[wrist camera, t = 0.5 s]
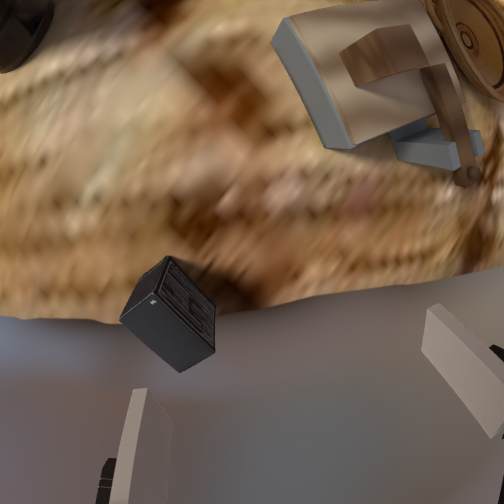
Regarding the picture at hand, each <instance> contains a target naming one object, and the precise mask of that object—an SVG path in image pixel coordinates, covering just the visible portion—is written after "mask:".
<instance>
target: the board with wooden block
mask: <svg viewBox="0 0 504 504" xmlns="http://www.w3.org/2000/svg"><path fill="white" fill-rule="evenodd" d="M289 22H290V23H291V25H292V27H293V28H294V30H295V31H296V33H297V35H298V36H299V38H300V40H301V42H302V43H303V45H304V47H305V48H306V50H307V52H308V54H309V56H310V57H311V59H312V61H313V63H314V65H315V67H316V69H317V70H318V72H319V74H320V76H321V78H322V80H323V82H324V84H325V86H326V88H327V90H328V92H329V94H330V96H331V98H332V100H333V103H334V105H335V107H336V109H337V111H338V113H339V116H340V118H341V120H342V122H343V125H344V127H345V129H346V132H347V134H348V136H349V139H350V141H351V144H359V143H361V142H363V141H366V140H368V139H371V138H373V137H375V136H378V135H380V134H382V133H385V132H387V131H390V130H392V129H395V128H397V127H400V126H402V125H405V124H407V123H410V122H412V121H415V120H417V119H420V118H423V117H425V116H428V115H430V114H433V113H436V111H435V108H434V105H433V102H432V99H431V97H430V94H429V92H428V89H427V86H426V84H425V81H424V79H423V77H422V74H421V72H420V70H419V69H420V68H424V67H428V66H432V65H437V64H442V63H445V64H446V67H447V69H448V72H449V74H450V77H451V79H452V82H453V85H454V87H455V90H456V93H457V96H458V99H459V101H460V104H461V103H463V102H466V101H465V98H464V95H463V92H462V89H461V86H460V84H459V81H458V78H457V76H456V73H455V71H454V68H453V66H452V63H451V61H450V59H449V56H448V54H447V52H446V50H445V48H444V45H443V43H442V41H441V39H440V37H439V35H438V33H437V31H436V29H435V27H434V25H433V24H432V22H431V20H430V18H429V16H428V14H427V13H426V11H425V9H424V8H423V6H422V4H421V3H420V1H419V0H379V1H368V2H360V3H352V4H345V5H339V6H333V7H328V8H323V9H318V10H313V11H309V12H304V13H300V14H296V15H292V16H291V17H290V18H289Z"/></svg>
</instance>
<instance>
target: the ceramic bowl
mask: <svg viewBox="0 0 504 504" xmlns="http://www.w3.org/2000/svg"><path fill="white" fill-rule="evenodd" d="M432 2H433V3H434V4H435V10H436V14H435V11H434V8H433V4H432ZM425 3H426V8H427V11H428V14H429V16H430V18H431V20H432V22H433V23H434V25H435V26H436V27H437V29H438V30H439V31H440V33H441V35H442V38H443V40H444V42H445V45H446V47H447V49H448V51H449V52H450V54H451V56H452V58H453V59H454V61H455V63H456V64H457V66H458V67H459V68H460V70H461V71H462V73H463V74H464V75H465V76H466V77H467V78H468V80H469V81H470V82H471V83H472V84H473V85H474V86H475V87H476V88H477V89H479V90H480V91H481V92H483V93H484V94H485V95H487V96H489V97H491V98H493V99H495V100H498V101H501V102H503V103H504V15H503V13H502V12H501V11H500V9H499V8H498V7H497V5H496V4H495V3H494V2H493V1H492V0H425Z"/></svg>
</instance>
